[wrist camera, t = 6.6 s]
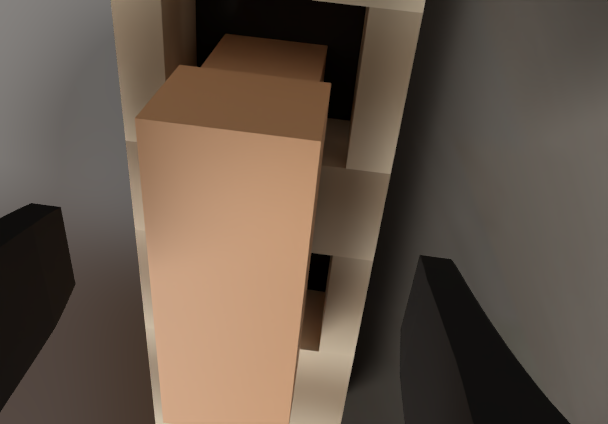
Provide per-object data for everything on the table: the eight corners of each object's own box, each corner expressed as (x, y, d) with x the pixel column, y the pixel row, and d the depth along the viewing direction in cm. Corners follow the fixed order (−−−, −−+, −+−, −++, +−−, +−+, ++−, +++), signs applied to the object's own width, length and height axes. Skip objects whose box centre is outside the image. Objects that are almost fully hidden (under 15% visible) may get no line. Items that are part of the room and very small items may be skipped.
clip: (309, 286, 18) (286, 440, 13) (216, 274, 18) (163, 422, 14) (339, 36, 13) (321, 141, 9) (214, 21, 14) (134, 118, 9)
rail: (336, 399, 21) (332, 462, 19) (178, 377, 21) (157, 436, 19) (475, -342, 10) (503, -388, 8) (129, -373, 10) (65, -427, 8)
